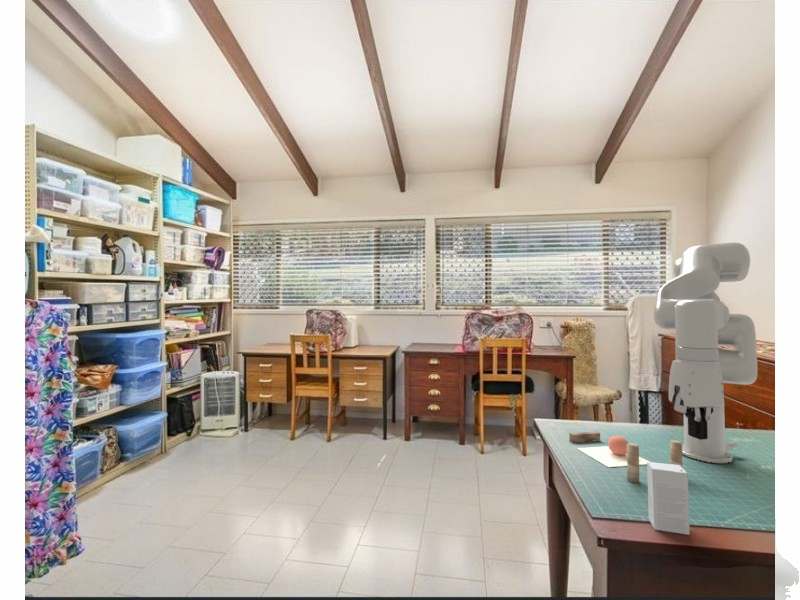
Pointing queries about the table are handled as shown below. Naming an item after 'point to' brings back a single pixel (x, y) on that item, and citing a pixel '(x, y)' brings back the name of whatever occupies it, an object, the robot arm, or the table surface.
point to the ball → (618, 445)
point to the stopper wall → (584, 436)
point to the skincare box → (668, 497)
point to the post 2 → (676, 453)
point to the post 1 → (633, 463)
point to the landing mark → (608, 456)
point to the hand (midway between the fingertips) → (697, 437)
